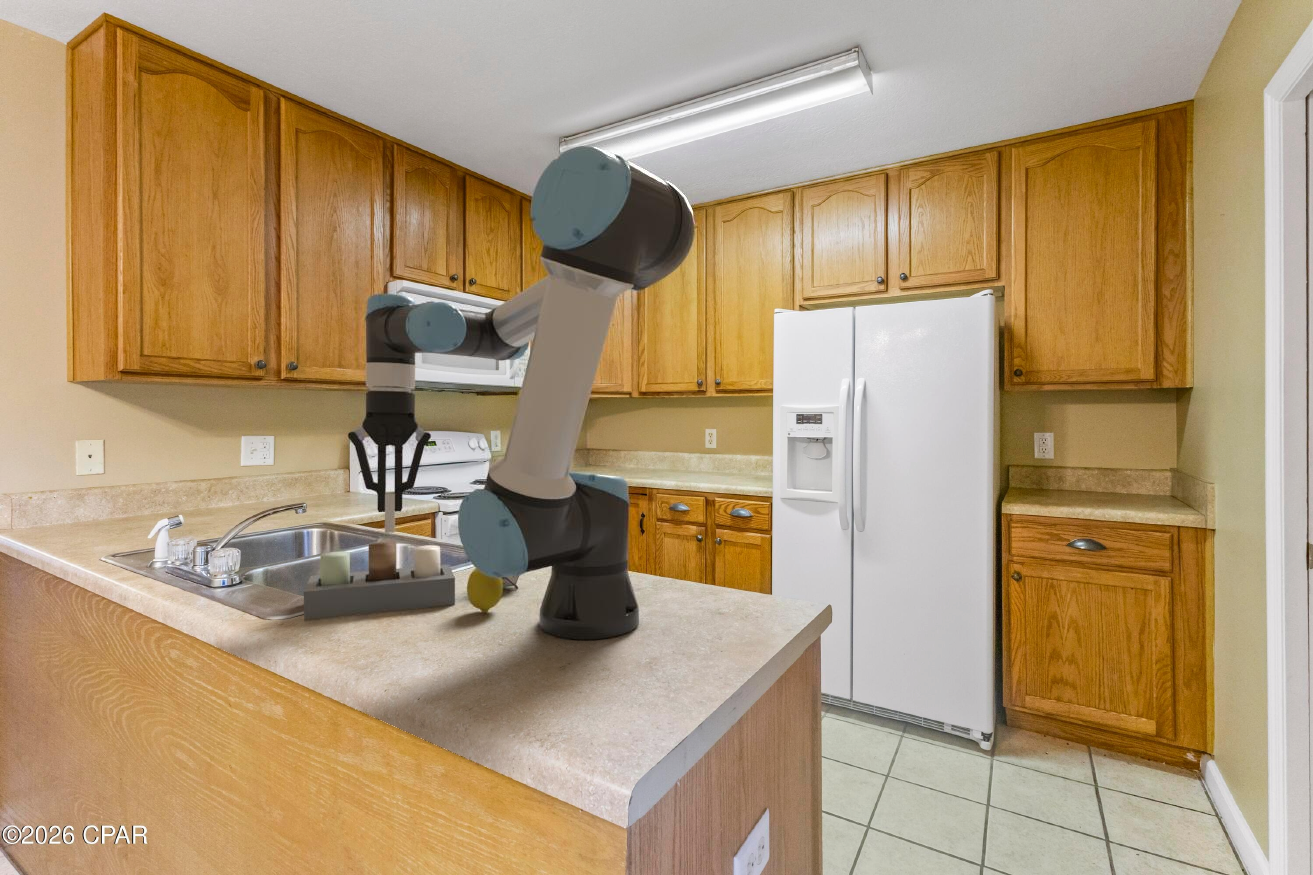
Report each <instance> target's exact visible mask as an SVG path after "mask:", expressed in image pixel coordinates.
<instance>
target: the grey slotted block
mask: <svg viewBox="0 0 1313 875" xmlns="http://www.w3.org/2000/svg"><path fill="white" fill-rule="evenodd" d="M454 605H456V578H455V575H454V572H453V571H452V568H451V566H450V564H449V563H447V564H440V576H430V577H419V578H414V566H412V567H402V568H401V567H400V568H396V580H385V581H374V582H369V570H365V571H352V572H351V571H350V584H340V585H329V586H321V574H316V575H310V577H309V579H308V580H307V584H306V586H305V588H304V590H303V621H304V622H305V621H315V620H316V621H317V620H324V619H333V618H343V617H345V618H346V617H352V616H361V615H362V616H363V615H372V614H379V613H380V614H381V613H388V612H389V613H390V612H399V611H409V610H416V609H417V610H418V609H419V610H420V609H428V608H436V607H437V608H438V607H445V606H454Z"/></svg>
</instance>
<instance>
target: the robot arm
mask: <svg viewBox="0 0 1313 875" xmlns="http://www.w3.org/2000/svg"><path fill="white" fill-rule="evenodd" d="M530 219H531V220H532V221H533V223H532V229H533V231H534V234H535V235H536V237H537V238H539V240H540V241H541V242H542V243H543V244H542V249H541V254H540V257H539V259H540V261H541V263H542V265H543V267H544V269H545V271H546V272H547V276H545V277H543V278H541V279H540V280H538V281H537V282H535V283H533V284H532V285H530V286H529V287H528V288H526V289H524V290H521V292H518V294H516V295H514V296H513V297H511V298H510V299H508V300H506V301H505V302H503V303H502V304H499V305H498V306H497V307H495V308H493V309H491V310H489V311H488V312H481V311H475V310H474V311H473V310H467V309H462V308H461V309H460V308H456V306H454V305H453V304H452V303H448V302H443V301H433V300H431V301H426V302H421V303H418V304H416V301H415V300H414V298H412V297H409V296H407V295H403V294H397V293H396V294H395V293H374V294H372V295H369V297H368V298H367V300H366V313H365V317H364V320H365V352H366V353H365V354H366V355H365V357H366V358H365V361H366V363H365V387H367V388H369V390H368V391H367V392H366V393H365V417H364V420H363V421H362V423H361V425H362V426H360V427H359V428H357V429H355V430H351V431H350V432H348V433H347V438H348V439H349V440H350V442H351V443H352V444H353V446H354V448H355V452H356V456H357V460H358V463H359V467H360V471H361V474H362V479H363V483H364V487H365V489H367V490H370V491H373V492H376V496H377V512H378V513H384V534H387V533H391V534H392V533H395V531H396V528H395V527H396V512H402V510H403V493H404V492H405V491H408V490H410V489H413V488H414V487H415V483H416V479H417V475H418V472H419V468H420V465H421V461H422V456H423V453H424V449H425V446H426V444H428V442H429V440H430V439H431V437H432V434H431V433H430V432H429V431H425V430H424V429H422V428H421V427H419V423H418V422H417V419H416V415H415V414H416V394H415V393H414V392H413V391H412V390H414V389H415V387H416V354H438V355H448V356H459V357H470V358H471V357H472V358H479V359H480V358H481V359H490V360H495V361H500V362H502V361H516V360H518V359H521V358H522V357H523V356H524V355H525V353H526V351H527V350H528V348H529V346H530V342H532V344H531V348H530V353H529V356H528V360H527V364H526V368H525V372H524V376H523V380H522V384H521V388H520V392H519V396H518V400H517V404H516V409H515V413H514V416H513V419H512V424H511V428H510V433H509V436H508V440H507V444H506V448H505V453H504V456H503V457H502V458H500V459H499V460H496V461H495V462H493V463H491V464H490V466H489V467H488V471H487V475H486V480H485V483H484V487H483V488H476V489H473V491H470V492H469V493H468V494H467V495H465V496H464V498H463V499H462V500H461V503H460V506H459V509H458V513H457V514H458V515H457V528H458V534H459V539H460V543H461V544H462V548H463V550H464V551H463V552H464V553H465V555H466V556H467V558H468V560H469V561H470V562H471V564H472V566H474V567H475V569H476V568H477V569H478V570H479V571H480V572H481V573H483V574H485V575H487V576H489V577H493V578H502V577H508V576H519V577H521V575H524V574H526V573H530V572H533V571H538V570H541V569H546V568H549V567H551V574H550V577H549V581H548V583H547V587H546V590H545V592H544V595H543V599H542V602H541V605H540V608H539V627H540V629H541V630H542V631H544V632H545V633H547V634H549V635H552V636H555V637H558V638H563V639H571V640H600V639H607V638H614V637H619V636H622V635H624V634H625V635H626V634H627V633H630V632H631V631H633V630H634V629H635V630H636V628H637V627H638V626H639V623H640V608H639V604H638V603H639V602H638V601H637V598H636V595H635V594H636V593H635V591H634V587H633V585H632V581H631V579H630V578H631V577H630V574H629V533H630V532H629V527H630V526H629V523H630V521H629V520H630V505H631V504H630V503H631V502H630V497H629V485H628V482H627V480H626V479H625V478H624V477H621V476H617V475H605V474H597V473H596V474H594V473H586V472H585V473H584V472H573V471H570V468H571V466H572V461H573V458H574V456H575V451H576V448H577V443H578V441H579V436H580V433H581V430H582V429H581V428H582V426H583V422H584V418H585V415H586V412H587V409H588V405H589V404H588V403H589V400H590V398H591V394H592V390H593V387H594V382H595V379H596V376H597V372H598V368H599V366H600V361H601V357H602V353H603V350H604V346H605V343H606V341H607V340H606V339H607V336H608V332H609V329H610V325H611V322H612V318H613V314H614V310H615V307H616V304H617V300H618V298H619V297H620V296H621V295H622V294H623V293H625V292H628V291H629V290H630V291H633V292H641V291H643V290H645V289H646V288H649V287H651V286H653V285H655V284H657V283H658V282H660V281H662V280H663V279H665V278H666V277H668V276H669V275H670V274H672V273H673V272H674V271H676V270H677V269H678V268H679V267H680V266H681V265H682V264H683V263H684V261H685V259H686V258H687V257H688V255H689V253H690V251H691V248H692V246H693V242H694V239H695V238H694V237H695V230H696V228H695V224H696V223H695V217H694V212H693V209H692V207H691V205H690V203H689V201H688V199H687V197H686V196H685V195H684V194H683V192H682V191H681V190H680V189H679V188H678V187H676V186H675V185H674V184H673V183H671V182H670V181H667V180H665V179H662V178H660V177H658V176H656V175H654V174H653V173H650V172H649V171H648V170H645V169H643V168H642V167H640V166H637V165H636V164H634V163H632V162H630V161H629V160H627V159H625V158H623V157H622V156H621V155H618V154H614V153H612V152H609V151H605V150H604V149H601V148H598V147H596V146H589V145H580V146H574V147H572V148H569V149H566V150H564V151H563V152H562V153H560V154H559V156H558V157H557V158H555V159H553V160H552V161H551V162H549V164H548V165H547V167H546V168H545V169H544V170H543V172H541V175H540V176H539V178H538V180H537V183H536V185H535V187H534V190H533V193H532V197H531V203H530ZM365 433H366V434H367V435H368V437H369V438H370V439H371V441H373V443H374V444H376V446H377V482H375V481H374V478H373V474H372V471H371V466H370V463H369V459H368V454H367V450H366V446H365V445H364V442H363V441H365V439H366V436H365ZM413 434H416V435H415V440H416V441H417V443H416V446H415V449H414V452H413V457H412V459H411V463H410V467H409V471H408V475H407V479H406V481H403V470H404V469H403V468H404V466H403V464H404V463H403V461H404V460H403V454H404V453H403V451H404V450H403V449H404V448H403V446H404V445H405V444H406V443H408V441H409V440H410V439H411V437H412V436H413ZM389 446H392V447H394V491H392V490H391V491H388V490H387V489H386V488H387V487H386V486H387V447H389Z"/></svg>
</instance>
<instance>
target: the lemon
mask: <svg viewBox="0 0 1313 875" xmlns="http://www.w3.org/2000/svg"><path fill="white" fill-rule="evenodd" d="M503 589H504V587H503V583H502V578H493V577H489V576H487V575H485V574H483V573H481V572H480V571H479V570H478V569H477V568H476V567H475V568H474V569H473V570H472V571H471V573H470V574H469V577H468V580H467V585H466V592H467V598H468V601H469V602H470V604H471V606H473V607H474V608H476V609H478V610H480V611H481V612H482V613H483V614H484V613H488V611H489V610H490V609H492V608H494V607H495V606H496V605H498V603H499V602H500V601H501V598H502V595H503Z"/></svg>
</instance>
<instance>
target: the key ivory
mask: <svg viewBox="0 0 1313 875" xmlns="http://www.w3.org/2000/svg"><path fill="white" fill-rule="evenodd" d="M440 565H441V546H439V545H432V544H431V545H430V544H429V545H427V544H426V545H419V546H415V547H414V548H413V567H414V578H419V577H430V576H440Z"/></svg>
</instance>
